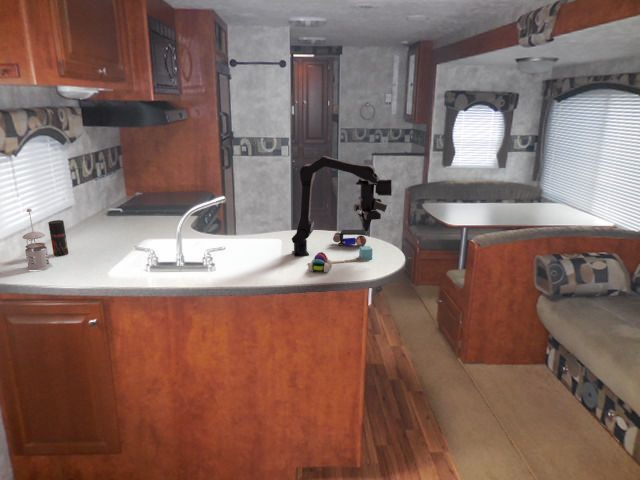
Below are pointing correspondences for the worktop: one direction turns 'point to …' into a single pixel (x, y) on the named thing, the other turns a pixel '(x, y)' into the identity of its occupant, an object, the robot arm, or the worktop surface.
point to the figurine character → (346, 241)
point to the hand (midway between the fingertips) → (366, 230)
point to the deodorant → (58, 238)
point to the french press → (36, 251)
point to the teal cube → (365, 252)
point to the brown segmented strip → (345, 261)
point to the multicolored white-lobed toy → (320, 263)
